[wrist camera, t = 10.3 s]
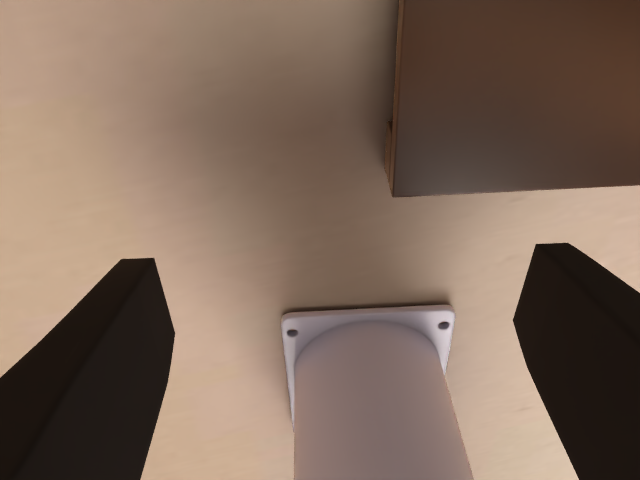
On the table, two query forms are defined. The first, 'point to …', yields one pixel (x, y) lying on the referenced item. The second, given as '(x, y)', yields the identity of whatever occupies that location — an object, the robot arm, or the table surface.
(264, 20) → the table surface
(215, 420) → the table surface
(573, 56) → the stand
